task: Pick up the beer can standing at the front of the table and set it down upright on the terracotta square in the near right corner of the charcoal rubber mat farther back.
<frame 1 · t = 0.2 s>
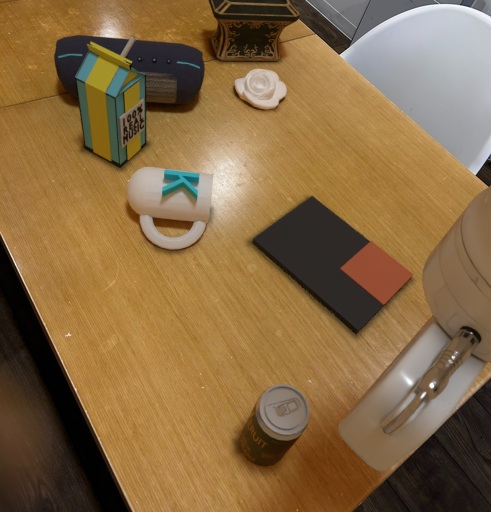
hand: (407, 379, 39), 23 cm above the table, tool pointing down, fingers open, 8 cm apart
mug: (167, 220, 74), on the table
beer can: (261, 444, 57), on the table
rose: (259, 95, 95), on the table
carton: (118, 146, 81), on the table
portable speaker: (132, 96, 89), on the table
mat: (331, 260, 74), on the table
decorative box: (237, 50, 103), on the table
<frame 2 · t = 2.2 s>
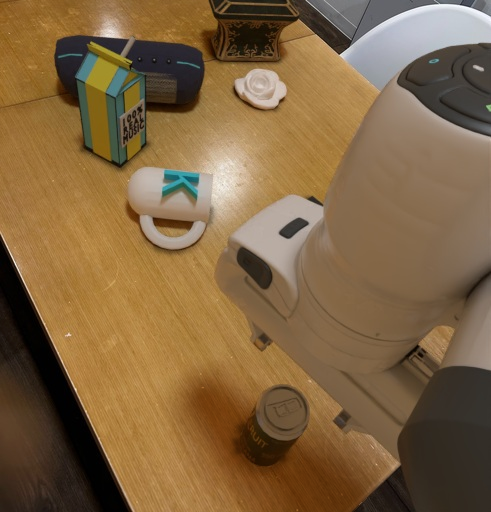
hand: (301, 380, 42), 19 cm above the table, tool pointing down, fingers open, 8 cm apart
nothing on the table moved.
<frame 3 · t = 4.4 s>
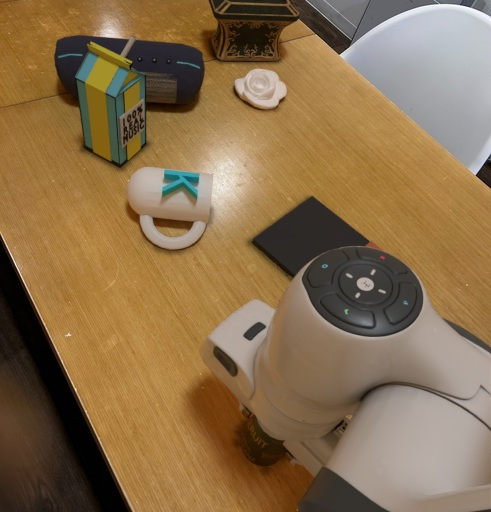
hand: (269, 431, 53), 5 cm above the table, tool pointing down, fingers closed on beer can, 5 cm apart
beer can: (261, 444, 57), on the table, touching gripper
everything else where it was.
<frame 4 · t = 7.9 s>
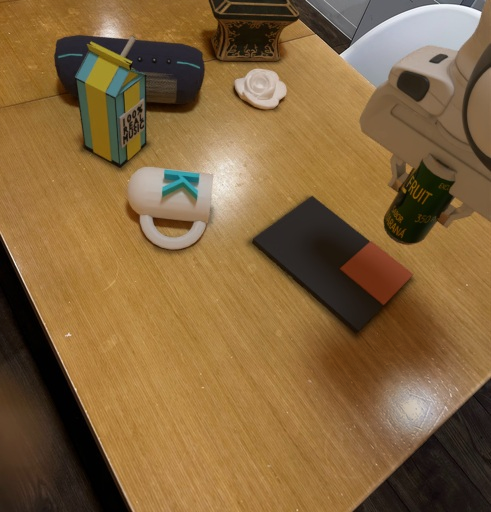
hand: (419, 203, 56), 19 cm above the table, tool pointing down, fingers closed on beer can, 5 cm apart
beer can: (402, 230, 60), point 15 cm above the table, touching gripper
everything else where it was.
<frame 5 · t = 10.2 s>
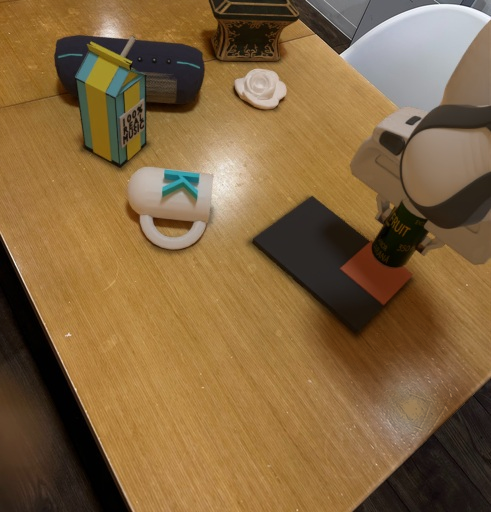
hand: (401, 234, 66), 10 cm above the table, tool pointing down, fingers closed on beer can, 5 cm apart
beer can: (387, 255, 69), point 5 cm above the table, touching gripper
everything else where it was.
when the fingers open (6 cm above the table, at t = 11.8 s): beer can stays where it is, resting on mat.
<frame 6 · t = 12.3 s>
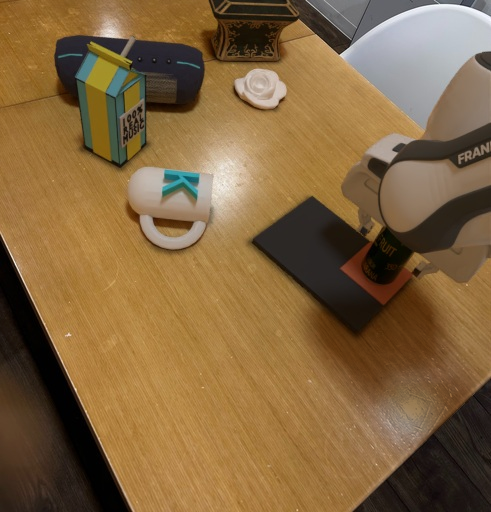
hand: (390, 252, 69), 6 cm above the table, tool pointing down, fingers open, 8 cm apart
beer can: (376, 272, 73), point 1 cm above the table, touching mat
everything else where it was.
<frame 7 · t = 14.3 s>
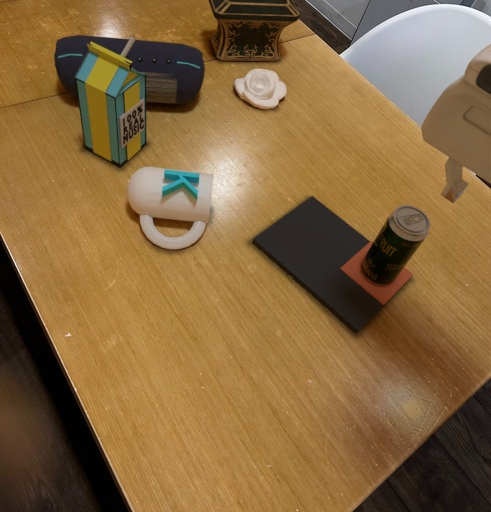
nothing on the table moved.
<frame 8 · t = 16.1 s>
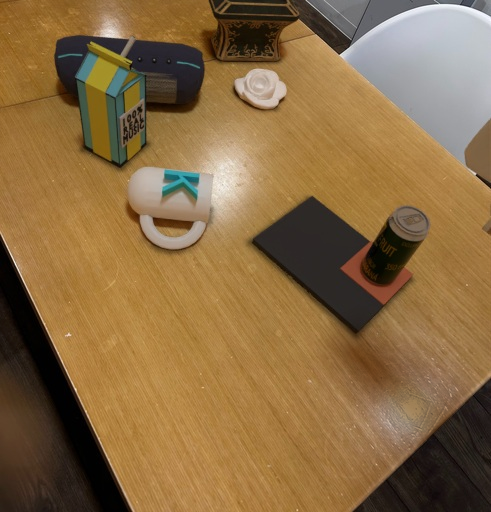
nothing on the table moved.
at the end: beer can inside the target area on the mat (0.7 cm from its centre), point 1.0 cm above the mat's base; beer can tilted 0°; the gripper is holding nothing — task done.
